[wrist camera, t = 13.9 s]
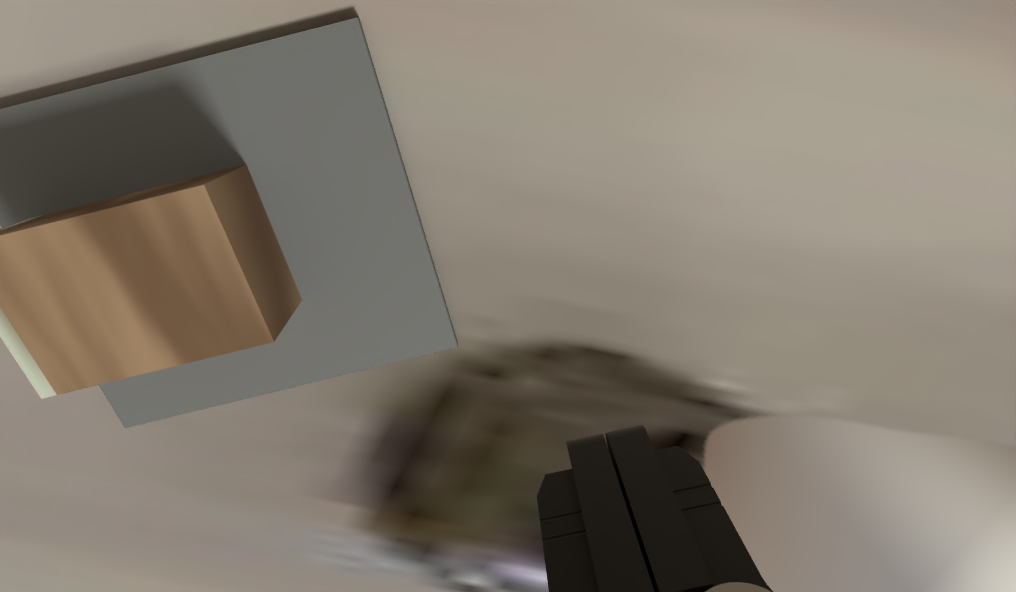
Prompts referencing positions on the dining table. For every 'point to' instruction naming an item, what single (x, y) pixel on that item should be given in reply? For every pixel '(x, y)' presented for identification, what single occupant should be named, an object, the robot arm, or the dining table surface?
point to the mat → (281, 186)
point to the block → (143, 282)
